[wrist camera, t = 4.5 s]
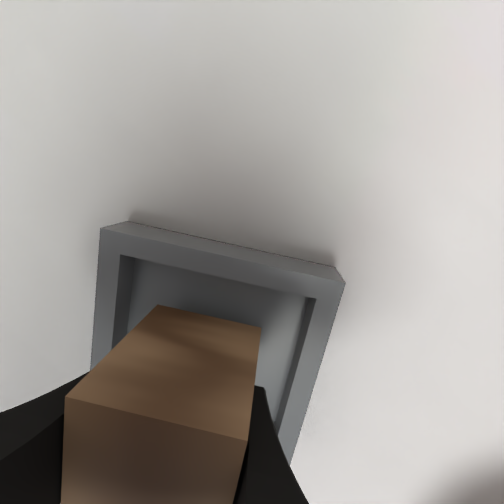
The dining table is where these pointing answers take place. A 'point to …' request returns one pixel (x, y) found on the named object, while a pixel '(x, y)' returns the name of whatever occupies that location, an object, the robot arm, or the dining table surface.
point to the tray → (223, 305)
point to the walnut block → (163, 414)
